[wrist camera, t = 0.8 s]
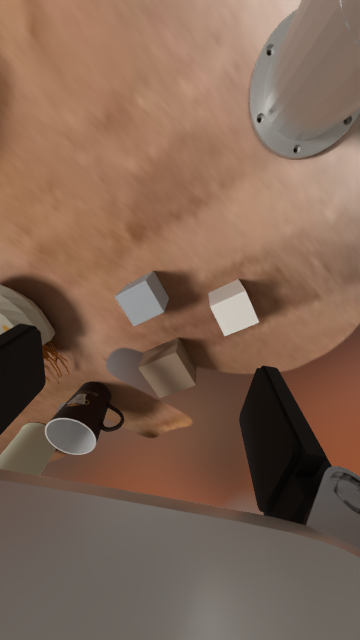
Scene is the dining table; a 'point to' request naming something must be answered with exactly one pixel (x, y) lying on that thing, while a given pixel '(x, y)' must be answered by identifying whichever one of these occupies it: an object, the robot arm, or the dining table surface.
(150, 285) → the grey block
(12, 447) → the can
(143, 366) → the metal block
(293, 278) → the dining table surface
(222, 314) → the ceramic block
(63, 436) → the coffee mug
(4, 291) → the nautilus
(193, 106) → the dining table surface
